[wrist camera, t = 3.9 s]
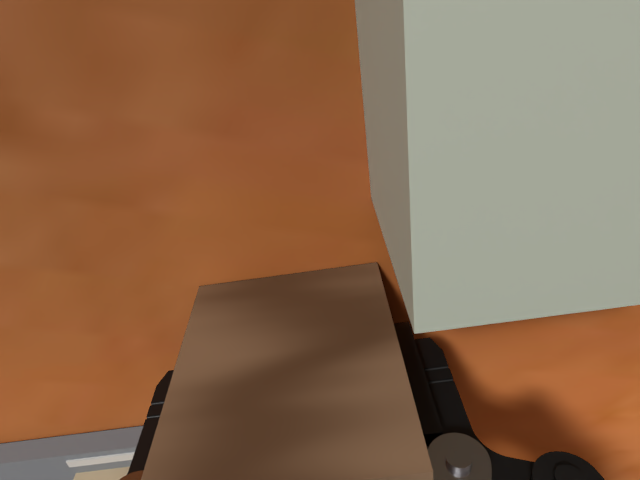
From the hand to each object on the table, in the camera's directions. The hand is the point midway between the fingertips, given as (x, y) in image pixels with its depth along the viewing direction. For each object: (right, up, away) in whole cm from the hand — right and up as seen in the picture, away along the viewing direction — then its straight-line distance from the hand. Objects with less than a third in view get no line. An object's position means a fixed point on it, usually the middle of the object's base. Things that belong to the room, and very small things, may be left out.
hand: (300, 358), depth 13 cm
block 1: (0, 0, +1) cm, 1 cm away
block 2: (+4, +7, -3) cm, 9 cm away
